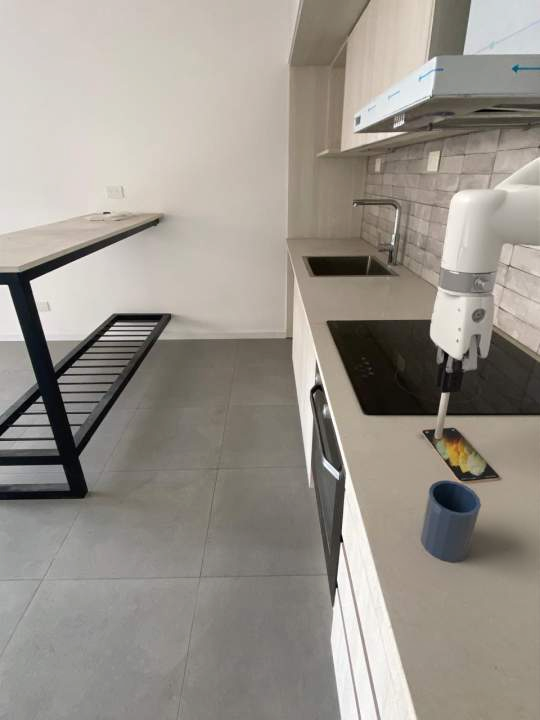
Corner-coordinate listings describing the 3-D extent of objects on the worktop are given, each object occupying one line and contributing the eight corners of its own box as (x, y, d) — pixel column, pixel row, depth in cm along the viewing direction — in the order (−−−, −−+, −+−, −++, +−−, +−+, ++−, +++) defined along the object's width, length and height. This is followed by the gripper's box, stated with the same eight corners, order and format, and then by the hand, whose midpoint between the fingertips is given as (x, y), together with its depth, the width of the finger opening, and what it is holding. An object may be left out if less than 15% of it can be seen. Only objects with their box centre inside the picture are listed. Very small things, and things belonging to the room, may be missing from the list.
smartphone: (454, 427, 80) (501, 477, 66) (454, 429, 80) (500, 481, 66) (420, 429, 79) (460, 481, 66) (420, 432, 79) (459, 484, 66)
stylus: (439, 436, 71) (453, 357, 64) (442, 440, 70) (457, 360, 63) (432, 437, 71) (446, 358, 64) (435, 441, 70) (450, 361, 63)
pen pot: (453, 525, 59) (464, 478, 55) (476, 562, 53) (490, 513, 49) (413, 529, 58) (421, 482, 54) (432, 566, 53) (442, 517, 49)
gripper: (525, 293, 51) (496, 412, 59) (462, 267, 65) (445, 366, 73) (470, 296, 51) (448, 416, 59) (419, 270, 65) (406, 369, 73)
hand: (446, 388), depth 66 cm, fingers closed on stylus, 1 cm apart
